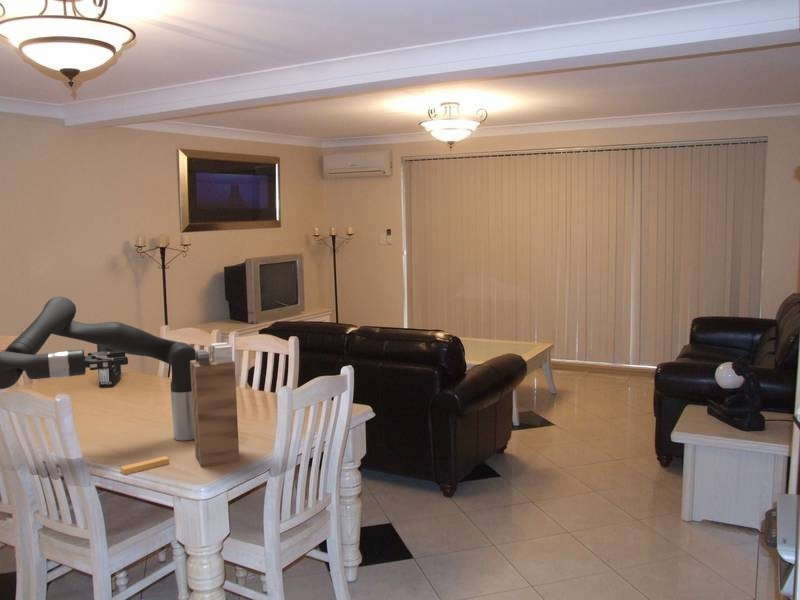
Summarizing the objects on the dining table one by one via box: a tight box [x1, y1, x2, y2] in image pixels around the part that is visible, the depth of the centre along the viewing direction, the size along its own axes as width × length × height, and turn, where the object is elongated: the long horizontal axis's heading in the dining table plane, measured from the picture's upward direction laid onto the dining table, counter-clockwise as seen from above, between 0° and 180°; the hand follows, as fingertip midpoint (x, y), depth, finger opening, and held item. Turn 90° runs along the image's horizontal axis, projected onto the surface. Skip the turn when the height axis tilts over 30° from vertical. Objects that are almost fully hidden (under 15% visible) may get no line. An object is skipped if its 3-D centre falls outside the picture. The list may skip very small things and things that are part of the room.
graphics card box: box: [96, 344, 122, 388], centre depth 322 cm, size 17×7×27 cm, turn 10°
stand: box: [190, 342, 240, 468], centre depth 223 cm, size 10×12×37 cm
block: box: [120, 455, 170, 476], centre depth 218 cm, size 3×14×2 cm, turn 129°
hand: (126, 357), depth 210 cm, fingers open, 8 cm apart
